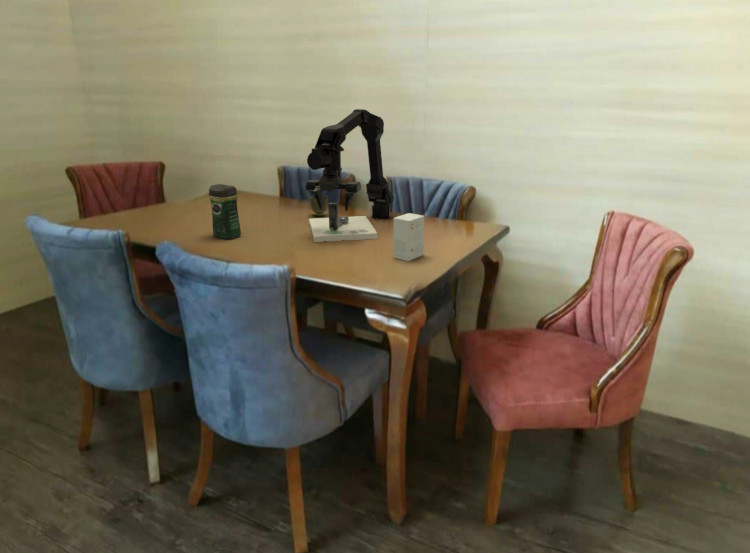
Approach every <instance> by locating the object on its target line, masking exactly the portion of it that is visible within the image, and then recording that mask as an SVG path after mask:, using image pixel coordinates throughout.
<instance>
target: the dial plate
mask: <svg viewBox="0 0 750 553" xmlns="http://www.w3.org/2000/svg"><path fill="white" fill-rule="evenodd" d="M348 217H349V222H348V223H343V224H341V225H340V226H338V229H337V230H330V229H329V217H317V218H316V217H315V218H308V224H310V225H309V228H310V231H312V232H311V234H312V238H313V242H314V243H323V241H327V242H341V241H342V240H345V241H359V240H362V241H363V240H376V239H377V240H378V232H377V231H376V229H375V227H374V226H373V225H372V223H371V222H370V221H369V219H368V217H367V216H366V215H358V216H357V215H356V216H355V215H354V216H348Z"/></svg>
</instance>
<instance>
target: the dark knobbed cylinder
mask: <svg viewBox="0 0 750 553" xmlns="http://www.w3.org/2000/svg"><path fill="white" fill-rule="evenodd" d="M327 209H328V210H327V211H328V218H329V229H330V230H337V229H338V226H340V225H341V224H343V223H348V222H349V217H350V216H345V215H341V216H338V214H339V212H338V211H339V210H338V203H336V202H328V204H327Z"/></svg>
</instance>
